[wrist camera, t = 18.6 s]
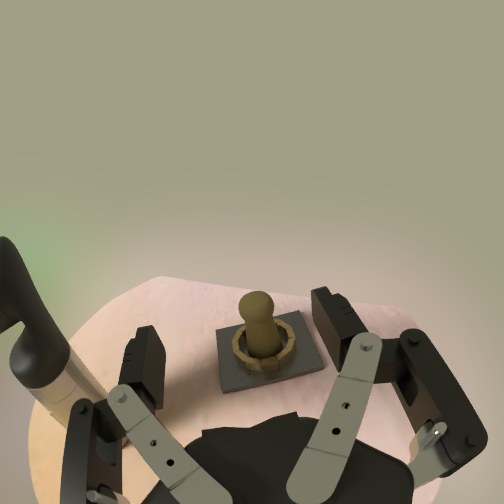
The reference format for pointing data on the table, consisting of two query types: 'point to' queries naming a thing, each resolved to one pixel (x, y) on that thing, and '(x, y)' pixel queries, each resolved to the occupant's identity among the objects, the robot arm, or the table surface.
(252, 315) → the cork
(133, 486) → the table surface
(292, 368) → the collar plate
